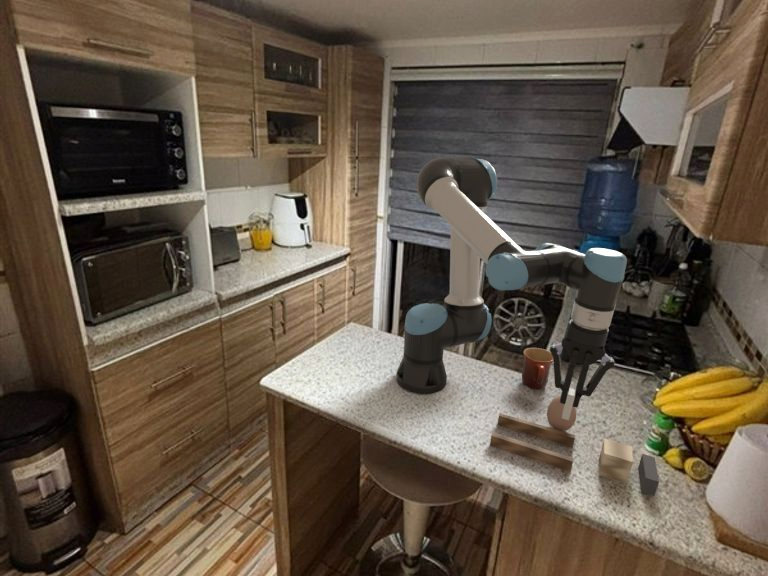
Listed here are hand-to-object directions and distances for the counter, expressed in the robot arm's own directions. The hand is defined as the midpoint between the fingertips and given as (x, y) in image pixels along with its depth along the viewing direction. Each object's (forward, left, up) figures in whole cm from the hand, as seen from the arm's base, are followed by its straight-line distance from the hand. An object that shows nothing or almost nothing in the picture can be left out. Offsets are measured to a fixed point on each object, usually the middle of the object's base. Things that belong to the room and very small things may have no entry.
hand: (565, 415), depth 95 cm
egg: (-1, +9, -11) cm, 14 cm away
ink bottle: (+1, +52, -11) cm, 53 cm away
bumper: (+18, -1, -10) cm, 21 cm away
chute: (-6, -1, -10) cm, 12 cm away
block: (+12, 0, -11) cm, 16 cm away
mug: (-9, +27, -11) cm, 30 cm away
